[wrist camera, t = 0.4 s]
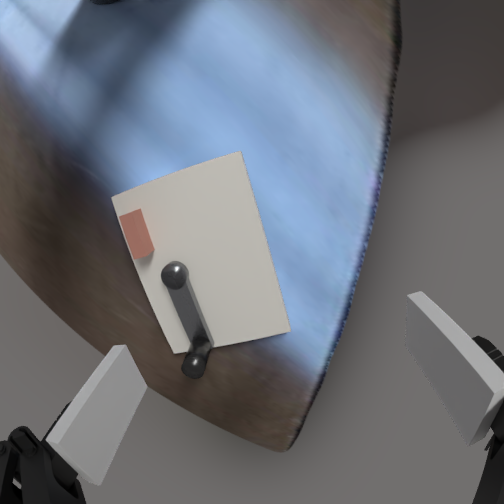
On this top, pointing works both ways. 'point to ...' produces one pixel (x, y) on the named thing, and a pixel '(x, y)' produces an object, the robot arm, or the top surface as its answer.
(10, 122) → the top surface
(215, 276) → the board
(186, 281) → the swing bar
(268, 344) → the top surface
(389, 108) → the top surface
